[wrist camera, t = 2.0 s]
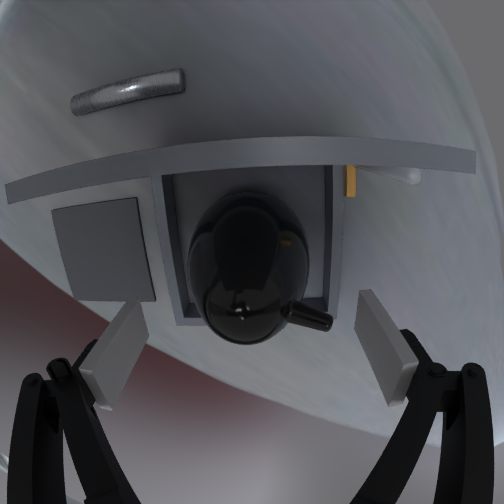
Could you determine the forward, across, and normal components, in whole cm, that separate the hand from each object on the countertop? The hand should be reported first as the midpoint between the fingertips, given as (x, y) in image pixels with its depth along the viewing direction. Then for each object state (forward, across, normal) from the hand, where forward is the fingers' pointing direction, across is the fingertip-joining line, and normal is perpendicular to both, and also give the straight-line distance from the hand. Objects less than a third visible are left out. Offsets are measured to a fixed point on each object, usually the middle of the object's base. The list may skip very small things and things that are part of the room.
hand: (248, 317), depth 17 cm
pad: (+14, -18, 0) cm, 22 cm away
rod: (+13, -12, +18) cm, 25 cm away
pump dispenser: (+14, 0, 0) cm, 14 cm away
